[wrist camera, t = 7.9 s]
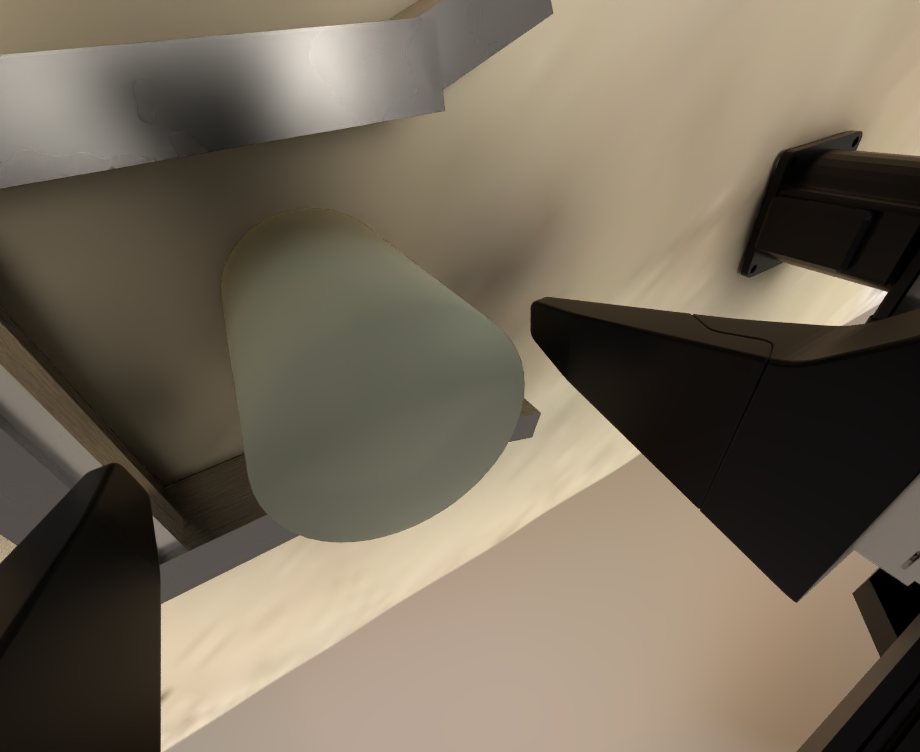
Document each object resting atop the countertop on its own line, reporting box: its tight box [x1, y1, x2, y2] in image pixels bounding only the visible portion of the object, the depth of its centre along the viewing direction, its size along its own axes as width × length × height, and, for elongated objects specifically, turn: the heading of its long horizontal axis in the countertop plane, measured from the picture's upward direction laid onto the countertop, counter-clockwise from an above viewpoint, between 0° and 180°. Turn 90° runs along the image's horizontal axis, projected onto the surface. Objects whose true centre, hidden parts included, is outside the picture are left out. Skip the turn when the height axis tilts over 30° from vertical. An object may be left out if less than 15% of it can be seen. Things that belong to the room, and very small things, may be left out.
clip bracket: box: [0, 0, 553, 604], centre depth 11 cm, size 14×14×3 cm
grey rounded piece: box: [221, 208, 524, 542], centre depth 10 cm, size 5×5×7 cm
